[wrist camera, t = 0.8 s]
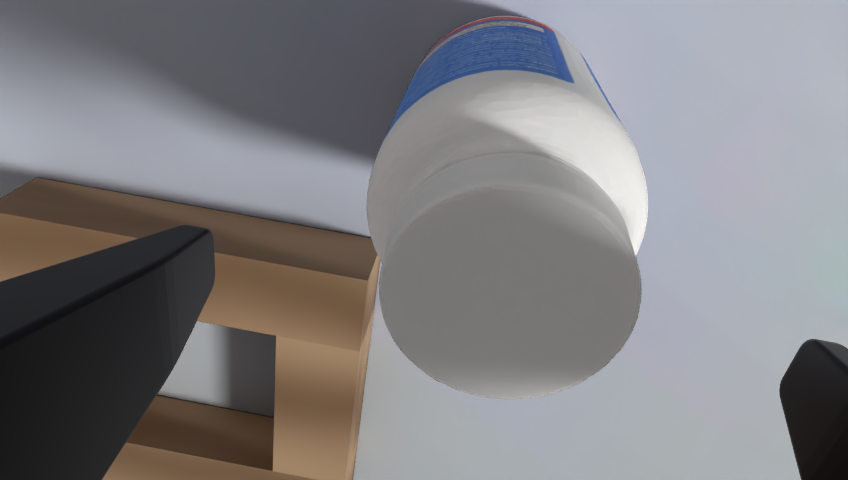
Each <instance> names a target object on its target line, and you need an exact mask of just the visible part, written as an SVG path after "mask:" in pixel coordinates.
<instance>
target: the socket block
mask: <svg viewBox="0 0 848 480" xmlns="http://www.w3.org/2000/svg"><path fill="white" fill-rule="evenodd" d="M183 224H188V225H194V226H199V227H205V228H208V229H210V230H211V231H212V233H213V237H214V253H215V281H214V285H213V288H212V291H211V293H210V295H209V297H208V299H207V301H206V303H205V305H204V307H203V309H202V311H201V313H200V315H199V317H198V320H197V321H200V322H206V323H211V324H216V325H221V326H227V327H232V328H237V329H243V330H248V331H253V332H259V333H264V334H269V335H275V336H276V360H275V400H274V418H272V417H266V416H261V415H256V414H251V413H246V412H240V411H235V410H230V409H225V408H220V407H214V406H209V405H204V404H199V403H194V402H188V401H183V400H178V399H173V398H168V397H162V396H157V395H156V397H155V398H154V400H153V401H152V403H151V404H150V406H149V408H148V409H147V411H146V412H145V414H144V415H143V417H142V418H141V420H140V422H139V423H138V425H137V426H136V428H135V429H134V431H133V432H132V434H131V435H130V437H129V439H128V440H127V442H126V443H125V445H124V446H123V448H122V449H121V451H120V453H119V454H118V456H117V457H116V459H115V460H114V462H113V463H112V465H111V466H110V468H109V470H108V471H107V473H106V474H105V476H104V477H103V479H102V480H353V475H354V467H355V459H356V451H357V443H358V435H359V426H360V418H361V410H362V402H363V394H364V386H365V378H366V370H367V362H368V354H369V346H370V338H371V330H372V321H373V313H374V305H375V297H376V289H377V281H378V273H379V265H380V259H379V256H378V254H377V252H376V250H375V248H374V245H373V242H372V239H371V238H367V237H361V236H356V235H350V234H345V233H339V232H334V231H328V230H323V229H317V228H312V227H306V226H301V225H295V224H290V223H284V222H279V221H273V220H268V219H262V218H257V217H251V216H246V215H240V214H235V213H229V212H224V211H218V210H213V209H207V208H202V207H196V206H191V205H185V204H180V203H174V202H169V201H163V200H158V199H152V198H147V197H141V196H136V195H130V194H125V193H119V192H114V191H108V190H103V189H97V188H92V187H86V186H81V185H75V184H70V183H64V182H59V181H53V180H48V179H42V178H35V179H33V180H32V181H30V182H28V183H26V184H25V185H23V186H21V187H19V188H18V189H16V190H14V191H13V192H11V193H9V194H7V195H6V196H4V197H2V198H0V281H4V280H7V279H10V278H13V277H16V276H20V275H23V274H26V273H29V272H32V271H36V270H39V269H42V268H45V267H48V266H52V265H55V264H58V263H61V262H64V261H68V260H71V259H74V258H77V257H80V256H84V255H87V254H90V253H93V252H96V251H100V250H103V249H106V248H109V247H112V246H116V245H119V244H122V243H125V242H128V241H132V240H135V239H138V238H141V237H144V236H148V235H151V234H154V233H157V232H160V231H164V230H167V229H170V228H173V227H176V226H180V225H183Z"/></svg>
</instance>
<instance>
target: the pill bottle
mask: <svg viewBox="0 0 848 480" xmlns="http://www.w3.org/2000/svg"><path fill="white" fill-rule="evenodd" d="M647 215H648V192H647V185H646V180H645V175H644V172H643V169H642V166H641V162H640V159H639V156H638V154H637V151H636V149H635V147H634V145H633V143H632V141H631V139H630V137H629V135H628V133H627V131H626V130H625V128H624V126H623V124H622V123H621V121H620V119H619V118H618V116H617V115H616V113H615V111H614V109H613V108H612V106H611V104H610V102H609V101H608V99H607V97H606V96H605V94H604V92H603V90H602V89H601V87H600V85H599V83H598V81H597V80H596V78H595V76H594V74H593V72H592V70H591V69H590V67H589V65H588V64H587V62H586V60H585V59H584V57H583V56H582V55H581V53H580V52H579V51H578V50H577V49H576V48H575V47H574V45H573V44H572V43H571V42H570V41H569V40H568V39H567V38H565V37H564V36H563V35H562V34H560V33H559V32H557V31H556V30H554V29H553V28H551V27H549V26H547V25H545V24H543V23H540V22H538V21H535V20H532V19H528V18H524V17H518V16H493V17H487V18H483V19H479V20H475V21H472V22H469V23H467V24H465V25H463V26H461V27H458V28H457V29H455V30H453V31H452V32H450V33H449V34H447V35H446V36H445V37H443V38H442V39H441V40H440V41H439V42H438V43H437V44H436V45H434V46H433V48H432V49H431V50H430V51H429V52H428V54H427V55H426V56H425V57H424V59H423V60H422V62H421V63H420V65H419V66H418V68H417V70H416V72H415V73H414V76H413V78H412V80H411V82H410V84H409V87H408V89H407V91H406V93H405V95H404V97H403V99H402V101H401V103H400V105H399V108H398V110H397V112H396V114H395V117H394V119H393V121H392V123H391V125H390V127H389V130H388V132H387V134H386V136H385V138H384V140H383V143H382V145H381V147H380V150H379V152H378V155H377V158H376V160H375V163H374V166H373V169H372V172H371V176H370V180H369V186H368V192H367V218H368V226H369V231H370V235H371V239H372V242H373V245H374V248H375V250H376V252H377V254H378V256H379V259H380V260H381V262H382V268H381V273H380V281H379V295H380V304H381V309H382V314H383V318H384V320H385V323H386V326H387V328H388V330H389V332H390V334H391V336H392V338H393V340H394V341H395V343H396V344H397V346H398V347H399V348H400V350H401V351H402V352H403V353H404V354H405V355H406V357H407V358H408V359H409V360H410V361H412V362H413V363H414V364H415V365H416V366H417V367H418V368H420V369H421V370H422V371H424V372H425V373H426V374H428V375H429V376H430V377H432V378H433V379H435V380H436V381H439V382H441V383H444V384H446V385H448V386H450V387H452V388H454V389H456V390H459V391H463V392H466V393H469V394H473V395H477V396H482V397H488V398H499V399H523V398H533V397H539V396H544V395H549V394H552V393H555V392H559V391H562V390H565V389H567V388H570V387H572V386H575V385H577V384H579V383H580V382H582V381H584V380H586V379H587V378H589V377H590V376H592V375H594V374H595V373H597V372H598V371H599V370H601V369H602V368H603V367H604V366H606V365H607V364H608V363H609V362H610V361H611V359H612V358H614V356H615V355H616V354H617V353H618V352H619V351H620V350H621V348H622V347H623V346H624V344H625V343H626V341H627V340H628V338H629V336H630V334H631V333H632V331H633V328H634V326H635V323H636V320H637V318H638V313H639V308H640V303H641V276H640V270H639V266H638V263H637V259H636V254H637V252H638V250H639V248H640V245H641V242H642V239H643V236H644V233H645V228H646V223H647Z"/></svg>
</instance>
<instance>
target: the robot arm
mask: <svg viewBox="0 0 848 480" xmlns="http://www.w3.org/2000/svg"><path fill="white" fill-rule="evenodd" d="M214 281H215V253H214V237H213V233H212V231H211V230H210V229H208V228H205V227H199V226H194V225H188V224H183V225H180V226H176V227H173V228H170V229H167V230H164V231H160V232H157V233H154V234H151V235H148V236H144V237H141V238H138V239H135V240H132V241H128V242H125V243H122V244H119V245H116V246H112V247H109V248H106V249H103V250H100V251H96V252H93V253H90V254H87V255H84V256H80V257H77V258H74V259H71V260H68V261H64V262H61V263H58V264H55V265H52V266H48V267H45V268H42V269H39V270H36V271H32V272H29V273H26V274H23V275H20V276H16V277H13V278H10V279H7V280H4V281H0V480H102V479H103V477H104V476H105V474H106V473H107V471H108V470H109V468H110V466H111V465H112V463H113V462H114V460H115V459H116V457H117V456H118V454H119V453H120V451H121V449H122V448H123V446H124V445H125V443H126V442H127V440H128V439H129V437H130V435H131V434H132V432H133V431H134V429H135V428H136V426H137V425H138V423H139V422H140V420H141V418H142V417H143V415H144V414H145V412H146V411H147V409H148V408H149V406H150V404H151V403H152V401H153V400H154V398H155V397H156V395H157V394H158V392H159V391H160V389H161V387H162V386H163V384H164V383H165V381H166V380H167V378H168V376H169V375H170V373H171V371H172V370H173V368H174V366H175V364H176V362H177V360H178V358H179V356H180V355H181V352H182V350H183V348H184V346H185V344H186V342H187V340H188V338H189V336H190V334H191V332H192V330H193V328H194V326H195V324H196V322H197V320H198V317H199V315H200V313H201V311H202V309H203V307H204V305H205V303H206V301H207V299H208V297H209V295H210V293H211V291H212V288H213V285H214ZM780 399H781V403H782V407H783V411H784V415H785V419H786V422H787V426H788V430H789V434H790V438H791V442H792V446H793V450H794V454H795V458H796V462H797V466H798V469H799V473H800V477H801V480H848V349H847V348H846V347H844V346H842V345H840V344H838V343H834V342H828V341H823V340H817V339H810V340H807V341H806V342H804V343H803V344H802V345H801V347H800V348H799V350H798V352H797V354H796V355H795V357H794V359H793V361H792V362H791V364H790V366H789V368H788V369H787V371H786V373H785V374H784V376H783V378H782V380H781V384H780Z"/></svg>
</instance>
